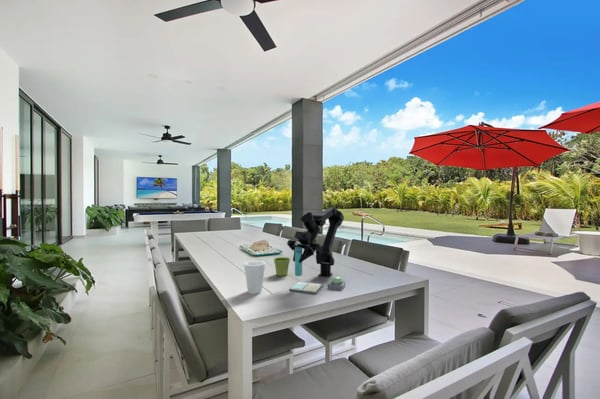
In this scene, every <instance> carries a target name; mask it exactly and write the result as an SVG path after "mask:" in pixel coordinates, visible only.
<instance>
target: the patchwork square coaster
mask: <svg viewBox="0 0 600 399" xmlns="http://www.w3.org/2000/svg"><path fill="white" fill-rule="evenodd" d="M323 287H324V284H323V283H313V282H304V281H296V283H294V284H293V285H292V286H291V287H290V288H289V290H288V291H289V292H294V293H295V292H296V293H305V294H311V295H312V294H313V295H317V294H318V293H319V292H320V290H321V289H322V288H323Z"/></svg>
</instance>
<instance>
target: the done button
mask: <svg viewBox="0 0 600 399" xmlns="http://www.w3.org/2000/svg"><path fill="white" fill-rule="evenodd" d="M331 280H332V284H338V285H341V281H342V277H341V276H331Z"/></svg>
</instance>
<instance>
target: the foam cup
mask: <svg viewBox="0 0 600 399" xmlns="http://www.w3.org/2000/svg"><path fill="white" fill-rule="evenodd" d="M243 265H244V266H243V268H244V272H245V281H246V288H247V293H248V292H249V293H248V294H250V293H253V294H252V295H257V293H258V294H261V293H262V292H263V285H264V278H265V270H266V262H265V261H263V260H262V261H261V260H251V261H247V262H244V264H243Z"/></svg>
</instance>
